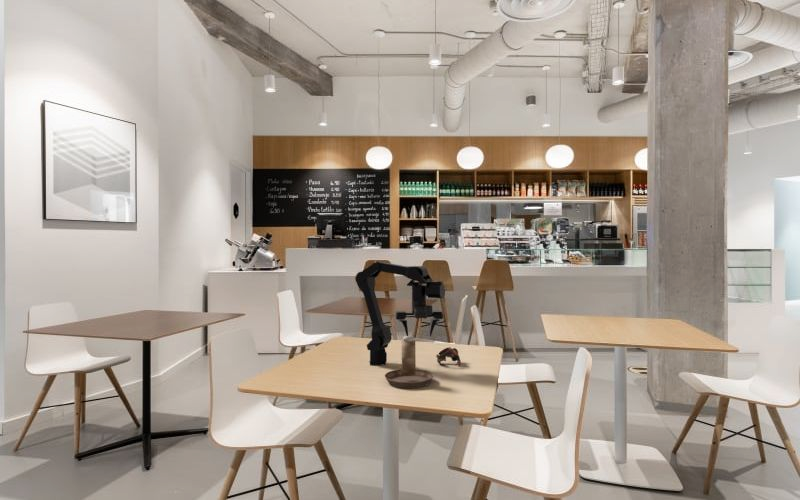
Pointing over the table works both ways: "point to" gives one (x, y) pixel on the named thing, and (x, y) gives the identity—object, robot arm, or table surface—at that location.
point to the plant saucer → (409, 378)
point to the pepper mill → (408, 356)
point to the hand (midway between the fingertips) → (418, 336)
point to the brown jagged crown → (449, 355)
